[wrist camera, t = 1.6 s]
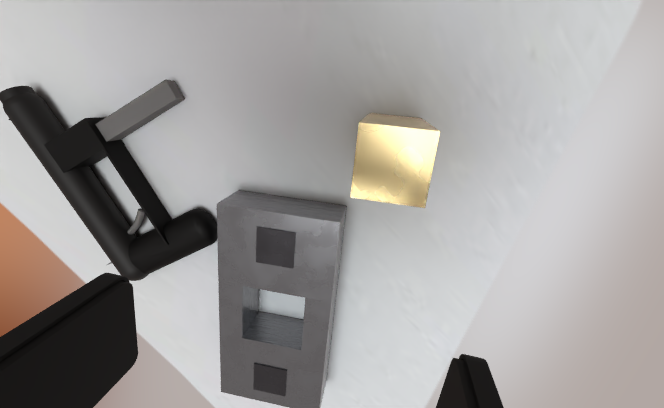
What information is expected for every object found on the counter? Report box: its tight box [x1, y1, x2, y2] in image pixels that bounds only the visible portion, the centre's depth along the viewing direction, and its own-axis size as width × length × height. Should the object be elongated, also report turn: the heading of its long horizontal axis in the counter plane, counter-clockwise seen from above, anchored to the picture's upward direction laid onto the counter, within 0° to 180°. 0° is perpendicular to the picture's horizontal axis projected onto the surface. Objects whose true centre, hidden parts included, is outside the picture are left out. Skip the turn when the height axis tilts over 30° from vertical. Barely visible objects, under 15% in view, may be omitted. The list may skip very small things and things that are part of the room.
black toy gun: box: [0, 80, 218, 281], centre depth 30 cm, size 3×20×16 cm
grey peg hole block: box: [217, 190, 347, 408], centre depth 31 cm, size 20×10×4 cm, turn 175°
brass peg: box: [350, 113, 440, 208], centre depth 22 cm, size 4×4×10 cm
